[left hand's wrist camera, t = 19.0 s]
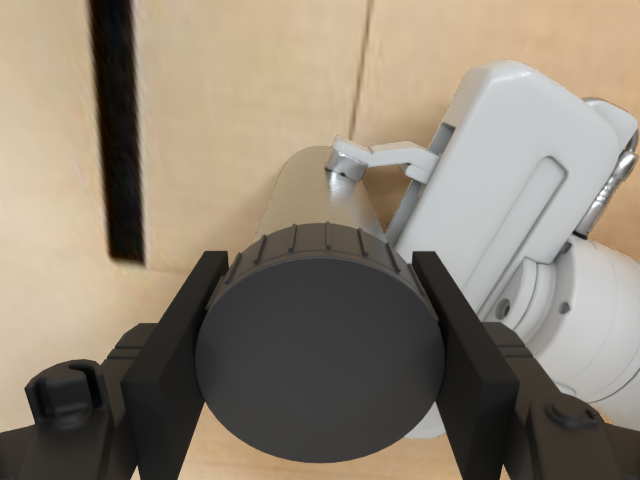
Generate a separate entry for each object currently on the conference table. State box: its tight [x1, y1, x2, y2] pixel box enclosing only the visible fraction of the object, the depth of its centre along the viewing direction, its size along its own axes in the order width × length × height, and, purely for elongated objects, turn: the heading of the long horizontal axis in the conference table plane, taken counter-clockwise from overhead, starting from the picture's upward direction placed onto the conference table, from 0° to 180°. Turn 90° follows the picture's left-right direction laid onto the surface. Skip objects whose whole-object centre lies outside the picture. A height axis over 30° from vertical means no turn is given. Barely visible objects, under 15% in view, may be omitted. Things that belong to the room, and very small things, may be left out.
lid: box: [194, 221, 446, 463], centre depth 12 cm, size 6×6×2 cm
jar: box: [252, 146, 387, 244], centre depth 19 cm, size 5×5×17 cm
